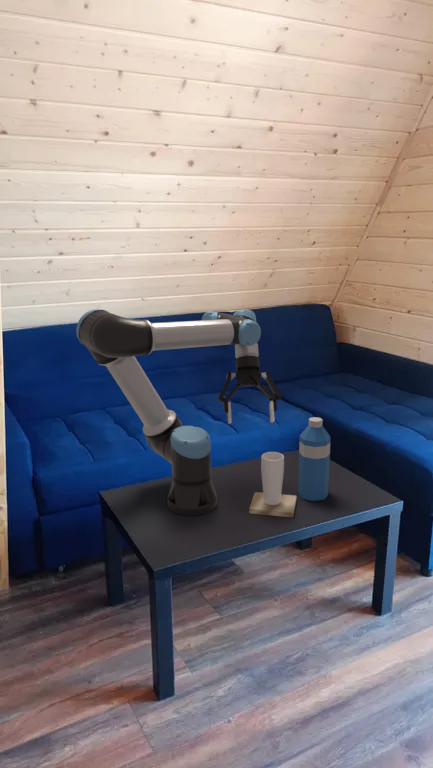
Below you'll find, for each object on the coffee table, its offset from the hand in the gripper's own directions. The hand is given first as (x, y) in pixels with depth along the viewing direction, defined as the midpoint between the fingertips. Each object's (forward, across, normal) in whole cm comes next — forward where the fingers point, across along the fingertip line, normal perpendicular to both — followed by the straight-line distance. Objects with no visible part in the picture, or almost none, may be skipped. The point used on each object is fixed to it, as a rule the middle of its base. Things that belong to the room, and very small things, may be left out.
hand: (251, 422), depth 183 cm
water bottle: (+23, -19, -4) cm, 30 cm away
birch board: (+26, -5, +1) cm, 26 cm away
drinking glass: (+25, -5, +1) cm, 25 cm away
